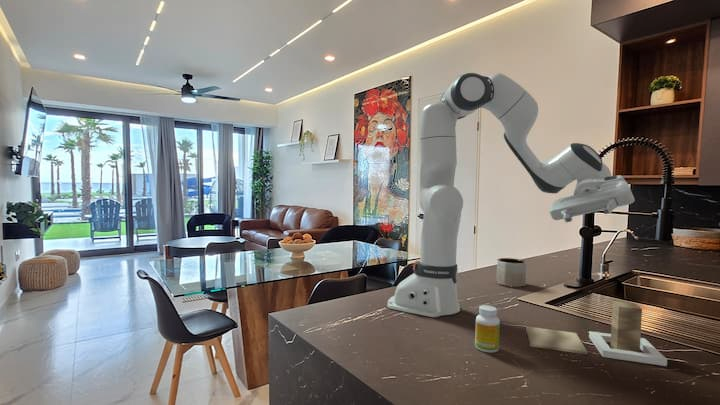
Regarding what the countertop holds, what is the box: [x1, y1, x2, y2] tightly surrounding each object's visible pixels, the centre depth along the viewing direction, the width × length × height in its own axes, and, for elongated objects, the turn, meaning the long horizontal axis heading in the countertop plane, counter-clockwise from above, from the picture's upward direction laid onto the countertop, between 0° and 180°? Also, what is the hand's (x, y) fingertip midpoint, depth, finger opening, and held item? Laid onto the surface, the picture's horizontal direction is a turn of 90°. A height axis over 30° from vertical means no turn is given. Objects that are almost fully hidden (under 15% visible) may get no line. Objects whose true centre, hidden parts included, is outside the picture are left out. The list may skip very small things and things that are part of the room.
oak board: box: [525, 326, 589, 355], centre depth 92 cm, size 12×12×1 cm
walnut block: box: [610, 300, 643, 352], centre depth 87 cm, size 4×4×11 cm
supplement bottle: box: [474, 304, 501, 354], centre depth 87 cm, size 5×5×10 cm
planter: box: [495, 257, 527, 288], centre depth 146 cm, size 11×11×10 cm
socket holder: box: [588, 330, 668, 367], centre depth 87 cm, size 12×12×2 cm
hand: (586, 215), depth 97 cm, fingers open, 8 cm apart
